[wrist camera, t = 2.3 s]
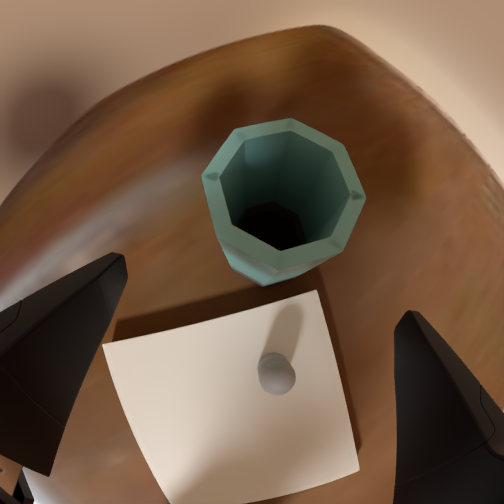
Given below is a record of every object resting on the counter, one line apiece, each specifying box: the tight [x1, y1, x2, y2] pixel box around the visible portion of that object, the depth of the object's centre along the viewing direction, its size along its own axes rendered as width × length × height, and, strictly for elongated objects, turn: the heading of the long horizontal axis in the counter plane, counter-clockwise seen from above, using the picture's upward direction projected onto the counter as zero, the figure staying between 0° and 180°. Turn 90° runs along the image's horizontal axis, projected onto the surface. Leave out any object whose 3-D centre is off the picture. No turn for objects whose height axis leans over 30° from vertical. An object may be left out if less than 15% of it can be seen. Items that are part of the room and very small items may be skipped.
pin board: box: [102, 290, 360, 504], centre depth 15 cm, size 15×15×5 cm
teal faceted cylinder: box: [201, 118, 366, 287], centre depth 15 cm, size 6×6×10 cm
